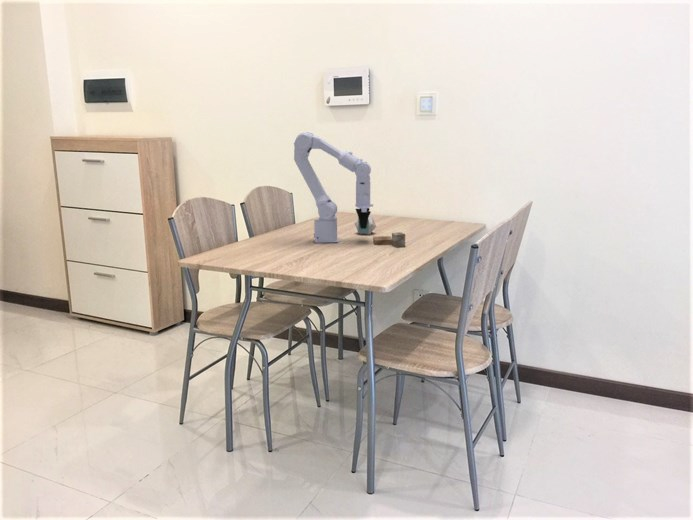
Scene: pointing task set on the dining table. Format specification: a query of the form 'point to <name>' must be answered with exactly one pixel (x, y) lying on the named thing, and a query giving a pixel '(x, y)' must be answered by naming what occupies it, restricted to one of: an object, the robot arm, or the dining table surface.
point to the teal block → (363, 229)
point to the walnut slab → (382, 240)
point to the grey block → (398, 239)
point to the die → (371, 225)
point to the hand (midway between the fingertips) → (362, 227)
